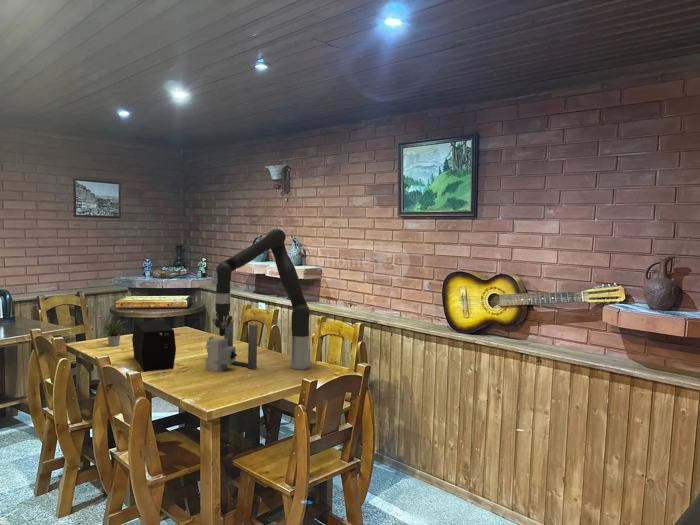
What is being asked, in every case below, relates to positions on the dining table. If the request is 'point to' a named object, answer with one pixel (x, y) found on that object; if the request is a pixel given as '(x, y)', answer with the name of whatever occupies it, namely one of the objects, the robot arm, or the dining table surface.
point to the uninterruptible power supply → (154, 345)
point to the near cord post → (252, 345)
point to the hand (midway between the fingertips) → (222, 335)
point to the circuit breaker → (219, 354)
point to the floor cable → (240, 363)
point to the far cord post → (229, 333)
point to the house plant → (113, 334)
